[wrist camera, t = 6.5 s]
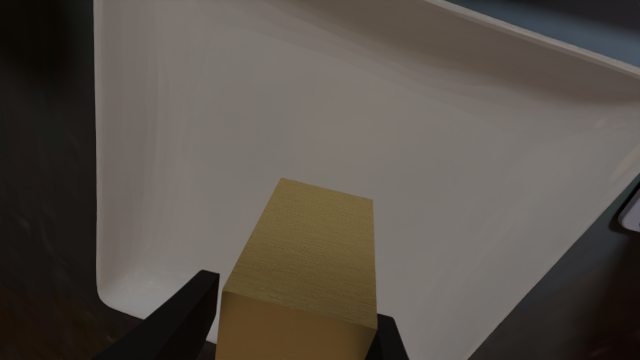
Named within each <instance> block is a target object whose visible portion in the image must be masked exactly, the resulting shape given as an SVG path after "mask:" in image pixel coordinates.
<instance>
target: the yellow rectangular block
mask: <svg viewBox="0 0 640 360" xmlns="http://www.w3.org/2000/svg"><path fill="white" fill-rule="evenodd" d="M377 329H378V328H377V300H376V271H375V243H374V215H373V200H371V199H367V198H363V197H359V196H355V195H351V194H347V193H343V192H339V191H335V190H331V189H326V188H322V187H318V186H314V185H310V184H306V183H302V182H298V181H294V180H290V179H286V178H282V177H281V178H280V180H279V182H278V184H277V186H276V188H275V190H274V192H273V194H272V195H271V197H270V199H269V201H268V203H267V205H266V207H265V209H264V211H263V213H262V215H261V216H260V218H259V220H258V222H257V224H256V226H255V228H254V230H253V232H252V234H251V236H250V237H249V239H248V241H247V243H246V245H245V247H244V249H243V251H242V253H241V255H240V256H239V258H238V260H237V262H236V264H235V266H234V268H233V270H232V272H231V274H230V276H229V277H228V279H227V281H226V283H225V285H224V287H223V289H222V295H221V305H220V315H219V325H218V336H217V346H216V356H215V360H365V357H366V355H367V353H368V350H369V348H370V346H371V343H372V341H373V339H374V336H375V334H376V332H377Z"/></svg>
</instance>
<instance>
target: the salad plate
mask: <svg viewBox="0 0 640 360" xmlns="http://www.w3.org/2000/svg"><path fill="white" fill-rule="evenodd" d="M94 62H95V106H96V154H97V260H96V271H97V288H98V294H99V297H100V298H101V300H102V301H103V302H104V303H105V304H106V305H108V306H109V307H112V308H114V309H116V310H119V311H121V312H124V313H127V314H130V315H132V316H135V317H138V318H141V319H145V318H146V317H148V316H149V315H150V314H151V313H152V312H154V311H155V310H156V309H157V308H158V307H160V306H161V305H162V304H163V303H164V302H166V301H167V300H168V299H169V298H170V297H171V296H173V295H174V294H175V293H176V292H177V291H178V290H179V289H180V288H182V287H183V286H184V285H185V284H186V283H187V282H188V281H189V280H190V279H191V278H192V277H193V276H194V275H196V274H197V273H198V272H199V271H200V270H202V269H203V270H207V271H211V272H215V273H219V274H220V280H219V290H218V301H217V312H216V317H215V319H214V322H213V324H212V326H211V329H210V331H209V334H208V336H207V338H206V340H207V341H210V342H213V343H216V344H217V336H218V325H219V315H220V305H221V295H222V289H223V287H224V285H225V283H226V281H227V279H228V277H229V276H230V274H231V272H232V270H233V268H234V266H235V264H236V262H237V260H238V258H239V256H240V255H241V253H242V251H243V249H244V247H245V245H246V243H247V241H248V239H249V237H250V236H251V234H252V232H253V230H254V228H255V226H256V224H257V222H258V220H259V218H260V216H261V215H262V213H263V211H264V209H265V207H266V205H267V203H268V201H269V199H270V197H271V195H272V194H273V192H274V190H275V188H276V186H277V184H278V182H279V180H280V178H281V177H282V178H286V179H290V180H294V181H298V182H302V183H306V184H310V185H314V186H318V187H322V188H326V189H331V190H335V191H339V192H343V193H347V194H351V195H355V196H359V197H363V198H367V199H371V200H373V215H374V243H375V271H376V300H377V313H379V314H383V315H387V316H391V317H393V318H394V320H395V322H396V325H397V328H398V331H399V333H400V336H401V339H402V342H403V344H404V347H405V349H406V352H407V355H408V357H409V360H467V359H468V358H469V357H470V356H471V355H472V354H473V352H474V351H475V350H476V349H477V348H478V347H479V346H480V345H481V344H482V342H483V341H484V340H485V339H486V338H487V337H488V336H489V335H490V334H491V333H492V331H493V330H494V329H495V328H496V327H497V326H498V325H499V324H500V323H501V322H502V321H503V320H504V319H505V317H506V316H507V315H508V314H509V313H510V312H511V311H512V310H513V309H514V308H515V306H516V305H517V304H518V303H519V302H520V301H521V300H522V299H523V298H524V296H525V295H526V294H527V293H528V292H529V291H530V290H531V289H532V288H533V287H534V286H535V285H536V284H537V282H538V281H539V280H540V279H541V278H542V277H543V276H544V275H545V274H546V273H547V272H548V271H549V270H550V269H551V268H552V266H553V265H554V264H555V263H556V262H557V261H558V260H559V259H560V258H561V257H562V256H563V255H564V254H565V252H566V251H567V250H568V249H569V248H570V247H571V246H572V245H573V244H574V243H575V242H576V241H577V240H578V239H579V238H580V237H581V235H582V234H583V233H584V232H585V231H586V230H587V229H588V228H589V227H590V226H591V225H592V224H593V223H594V222H595V221H596V219H597V218H598V217H599V216H600V215H601V214H602V213H603V212H604V210H605V209H606V208H607V207H608V206H609V205H610V204H611V203H612V202H613V201H614V200H615V199H616V198H617V197H618V196H619V195H620V194H621V192H622V191H623V190H624V189H625V188H626V187H627V186H628V185H629V184H630V183H631V182H632V181H633V179H634V178H635V177H636V176H637V175H638V174H639V173H640V68H638V67H636V66H633V65H630V64H628V63H625V62H622V61H619V60H616V59H613V58H610V57H607V56H604V55H601V54H598V53H595V52H592V51H589V50H586V49H583V48H580V47H577V46H574V45H571V44H568V43H565V42H562V41H559V40H556V39H553V38H550V37H547V36H544V35H541V34H538V33H535V32H532V31H529V30H527V29H524V28H521V27H518V26H515V25H512V24H509V23H506V22H503V21H501V20H498V19H495V18H492V17H489V16H486V15H483V14H481V13H478V12H475V11H472V10H470V9H467V8H464V7H461V6H458V5H456V4H453V3H450V2H447V1H444V0H94Z"/></svg>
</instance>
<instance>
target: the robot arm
mask: <svg viewBox="0 0 640 360" xmlns="http://www.w3.org/2000/svg"><path fill="white" fill-rule="evenodd" d="M618 222H619V224H620V225H622V226H623V227H624V228H626V229H629V230H633V231H637V232H640V189H639V190H638V191H637V193H636V194H635V195H634V196H633V198H632V199H631V200H630V202H629V203H628V204H627V206H626V207H625V208H624V209H623V211H622V212H621V213H620V215H619V217H618ZM219 280H220V274H219V273H215V272H211V271H207V270H203V269H202V270H200V271H199V272H198V273H197V274H196V275H194V276H193V277H192V278H191V279H190V280H189V281H188V282H187V283H186V284H185V285H184V286H183V287H182V288H180V289H179V290H178V291H177V292H176V293H175V294H174V295H173V296H171V297H170V298H169V299H168V300H167V301H166V302H164V303H163V304H162V305H161V306H160V307H158V308H157V309H156V310H155V311H154V312H152V313H151V314H150V315H149V316H148V317H146V318H145V319H144V320H143V321H141V322H140V323H139V324H137V325H136V326H135V327H133V328H132V329H131V330H129V331H128V332H127V333H125V334H124V335H123V336H121V337H120V338H119V339H117V340H116V341H115V342H113V343H112V344H110V345H109V346H108V347H106V348H105V349H103V350H102V351H100V352H99V353H97V354H96V355H94V356H93V357H91V358H90V359H88V360H196V358H197V357H198V355H199V353H200V351H201V349H202V347H203V345H204V343H205V341H206V338H207V336H208V334H209V331H210V329H211V326H212V324H213V322H214V319H215V317H216V312H217V301H218V290H219ZM377 328H378V329H377V332H376V334H375V336H374V339H373V341H372V343H371V346H370V348H369V350H368V353H367V355H366V357H365V360H409V357H408V355H407V352H406V349H405V347H404V344H403V342H402V339H401V336H400V333H399V331H398V328H397V325H396V322H395V320H394V318H393V317H391V316H387V315H383V314H379V313H377Z"/></svg>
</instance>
